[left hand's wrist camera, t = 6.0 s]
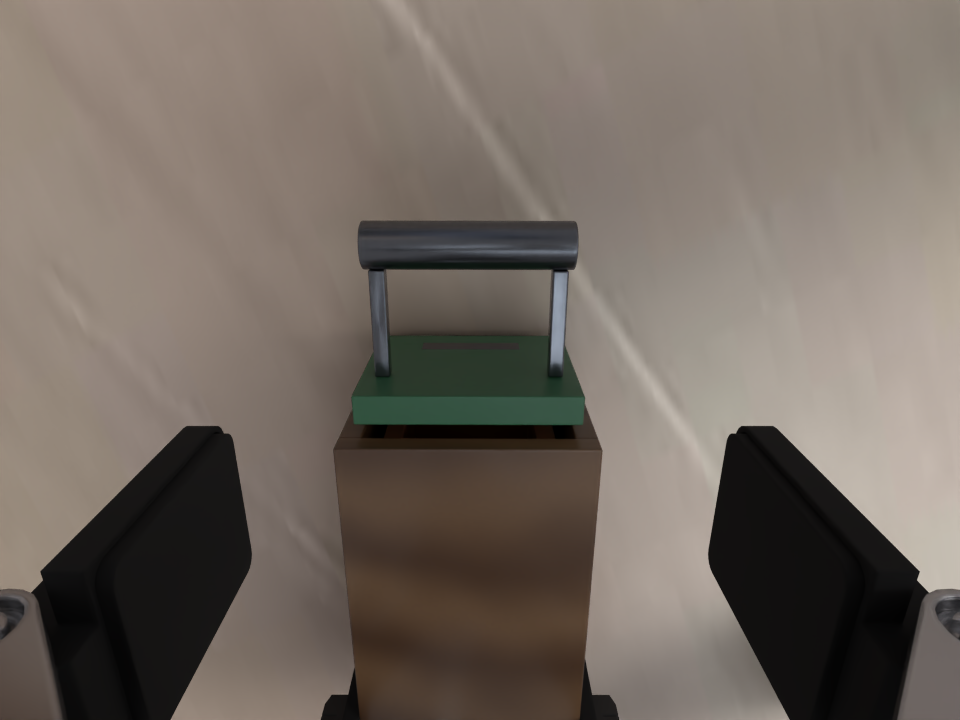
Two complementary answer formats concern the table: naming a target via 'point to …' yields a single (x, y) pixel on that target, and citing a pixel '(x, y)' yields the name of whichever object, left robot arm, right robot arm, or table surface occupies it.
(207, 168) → the table surface
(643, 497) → the table surface
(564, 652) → the cabinet
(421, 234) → the drawer
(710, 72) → the table surface
